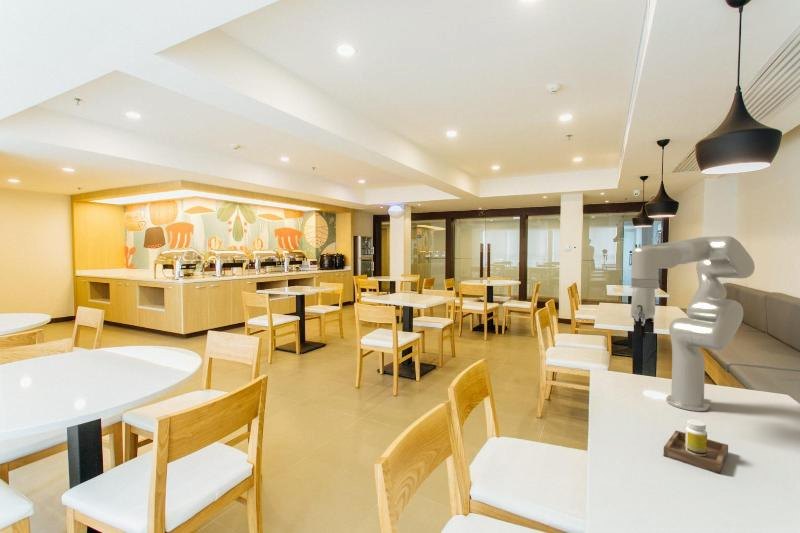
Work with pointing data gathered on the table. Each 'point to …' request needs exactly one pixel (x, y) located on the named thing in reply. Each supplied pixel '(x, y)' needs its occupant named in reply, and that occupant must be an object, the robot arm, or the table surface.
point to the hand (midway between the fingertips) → (643, 334)
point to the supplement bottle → (696, 438)
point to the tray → (709, 462)
